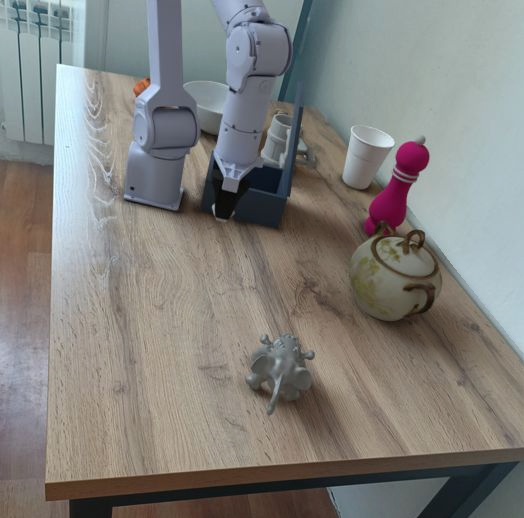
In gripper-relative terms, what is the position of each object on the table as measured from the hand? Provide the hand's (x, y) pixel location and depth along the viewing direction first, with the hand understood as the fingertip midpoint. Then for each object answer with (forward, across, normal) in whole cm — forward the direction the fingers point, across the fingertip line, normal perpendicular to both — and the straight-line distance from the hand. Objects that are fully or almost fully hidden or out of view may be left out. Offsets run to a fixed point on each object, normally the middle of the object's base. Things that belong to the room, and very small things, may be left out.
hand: (223, 210), depth 81 cm
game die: (+2, 0, 0) cm, 2 cm away
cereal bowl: (+9, +50, +5) cm, 51 cm away
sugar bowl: (+9, -2, -29) cm, 30 cm away
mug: (+9, +38, -10) cm, 40 cm away
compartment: (+9, +19, -4) cm, 22 cm away
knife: (+9, +56, -15) cm, 58 cm away
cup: (+9, +40, -28) cm, 50 cm away
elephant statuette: (+9, -27, -11) cm, 30 cm away
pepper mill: (+9, +22, -32) cm, 39 cm away
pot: (+9, +52, +20) cm, 57 cm away
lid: (-5, +19, -9) cm, 22 cm away
